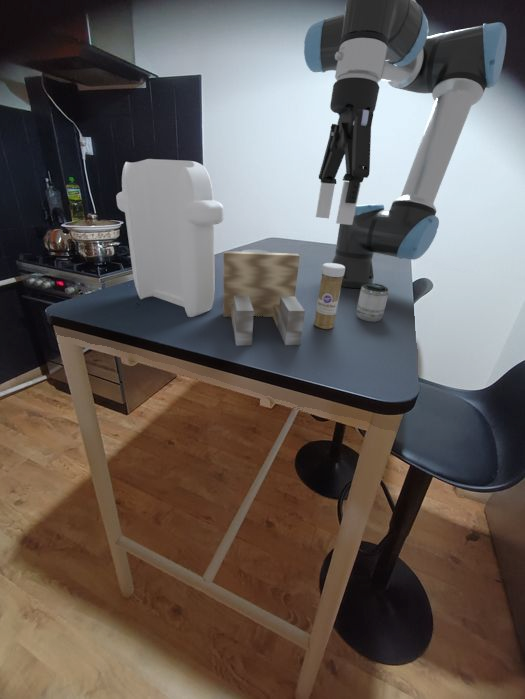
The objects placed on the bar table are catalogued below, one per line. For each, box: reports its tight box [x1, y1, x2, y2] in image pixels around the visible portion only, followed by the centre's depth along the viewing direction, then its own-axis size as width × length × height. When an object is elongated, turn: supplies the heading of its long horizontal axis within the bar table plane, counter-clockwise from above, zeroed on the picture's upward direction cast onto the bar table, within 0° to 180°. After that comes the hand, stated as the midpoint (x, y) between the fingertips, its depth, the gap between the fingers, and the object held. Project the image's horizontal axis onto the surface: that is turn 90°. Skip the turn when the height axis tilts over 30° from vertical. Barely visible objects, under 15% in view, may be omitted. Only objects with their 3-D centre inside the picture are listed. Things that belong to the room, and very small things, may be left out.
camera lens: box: [356, 282, 390, 322], centre depth 75 cm, size 6×6×8 cm
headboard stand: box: [222, 250, 306, 347], centre depth 64 cm, size 16×16×14 cm
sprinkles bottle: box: [313, 262, 345, 330], centre depth 67 cm, size 5×5×13 cm
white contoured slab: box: [115, 158, 225, 318], centre depth 70 cm, size 27×11×30 cm, turn 56°
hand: (332, 220), depth 62 cm, fingers open, 13 cm apart
